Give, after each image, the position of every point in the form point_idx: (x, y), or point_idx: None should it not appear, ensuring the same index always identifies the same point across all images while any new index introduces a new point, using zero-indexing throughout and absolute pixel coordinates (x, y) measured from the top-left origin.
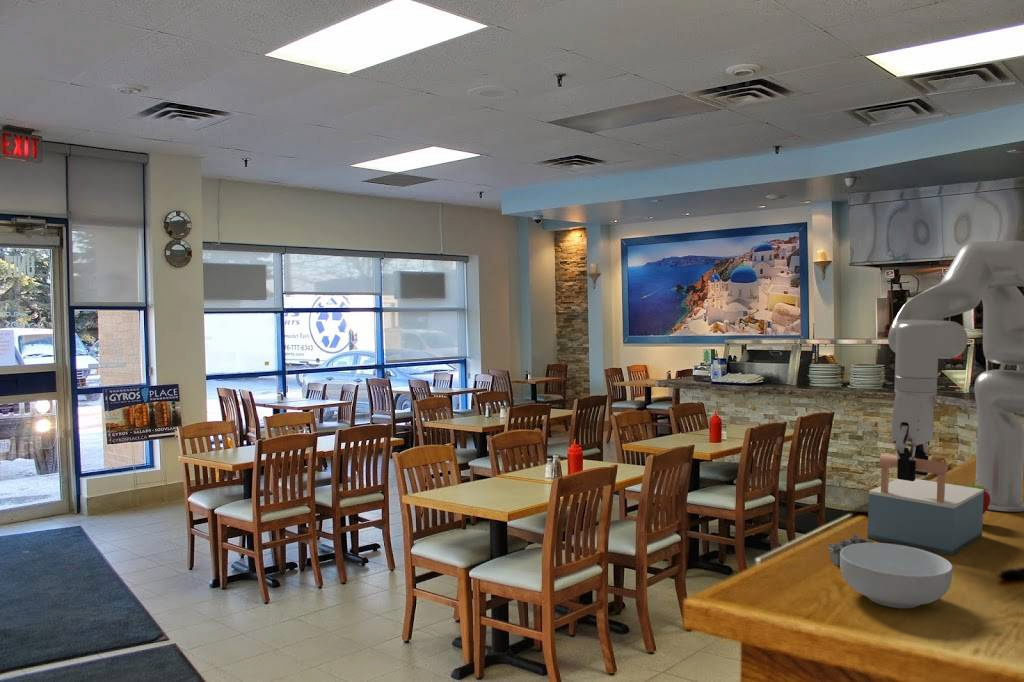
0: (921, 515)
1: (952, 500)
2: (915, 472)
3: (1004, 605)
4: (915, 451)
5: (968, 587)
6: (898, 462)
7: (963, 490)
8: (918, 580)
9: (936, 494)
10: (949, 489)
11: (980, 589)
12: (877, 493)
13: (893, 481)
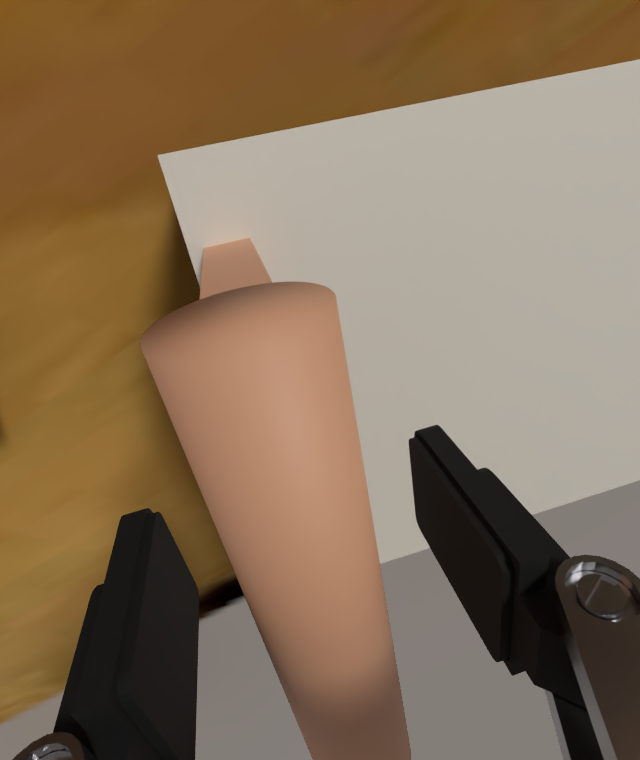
0: None
1: (382, 537)
2: (417, 473)
3: (29, 692)
4: (544, 634)
5: (53, 614)
6: (91, 663)
7: (610, 446)
8: None
9: None
10: (593, 407)
11: (71, 628)
12: (182, 230)
13: (617, 76)
